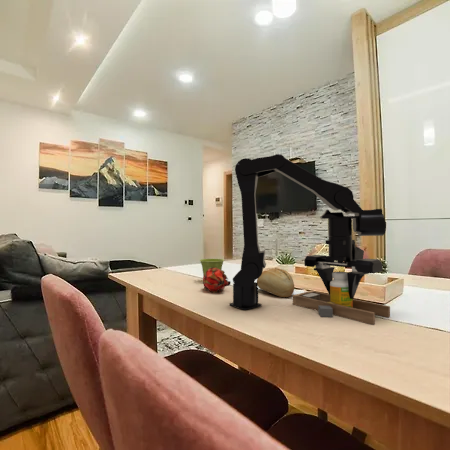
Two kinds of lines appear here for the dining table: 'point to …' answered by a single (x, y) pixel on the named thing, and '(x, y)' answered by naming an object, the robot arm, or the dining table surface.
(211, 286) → the dragon fruit
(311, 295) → the steel counterweight
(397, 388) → the dining table surface
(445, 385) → the dining table surface
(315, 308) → the walnut beam
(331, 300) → the supplement bottle
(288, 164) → the robot arm
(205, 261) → the plant pot
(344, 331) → the dining table surface
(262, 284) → the bread roll
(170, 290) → the dining table surface
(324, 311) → the gray block
